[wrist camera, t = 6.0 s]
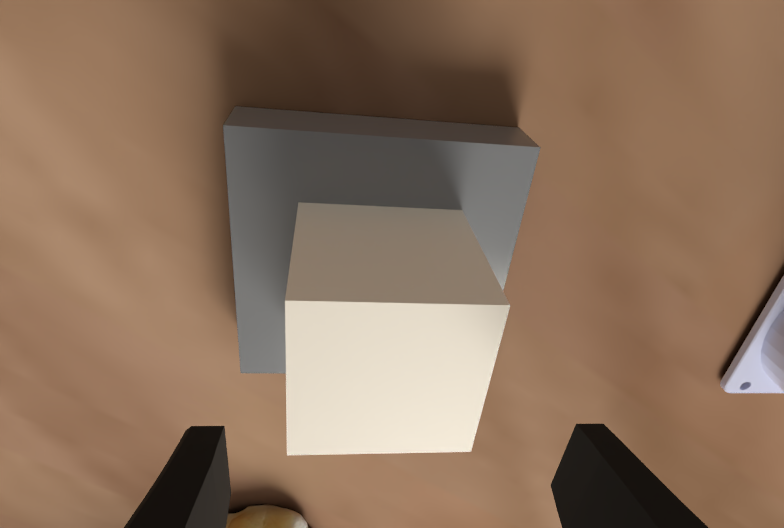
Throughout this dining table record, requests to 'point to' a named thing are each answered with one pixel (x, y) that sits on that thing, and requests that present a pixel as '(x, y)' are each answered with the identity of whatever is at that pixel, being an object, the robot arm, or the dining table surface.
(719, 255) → the dining table surface
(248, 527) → the pastry
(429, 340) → the ivory cube
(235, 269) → the slate stand
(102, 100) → the dining table surface
